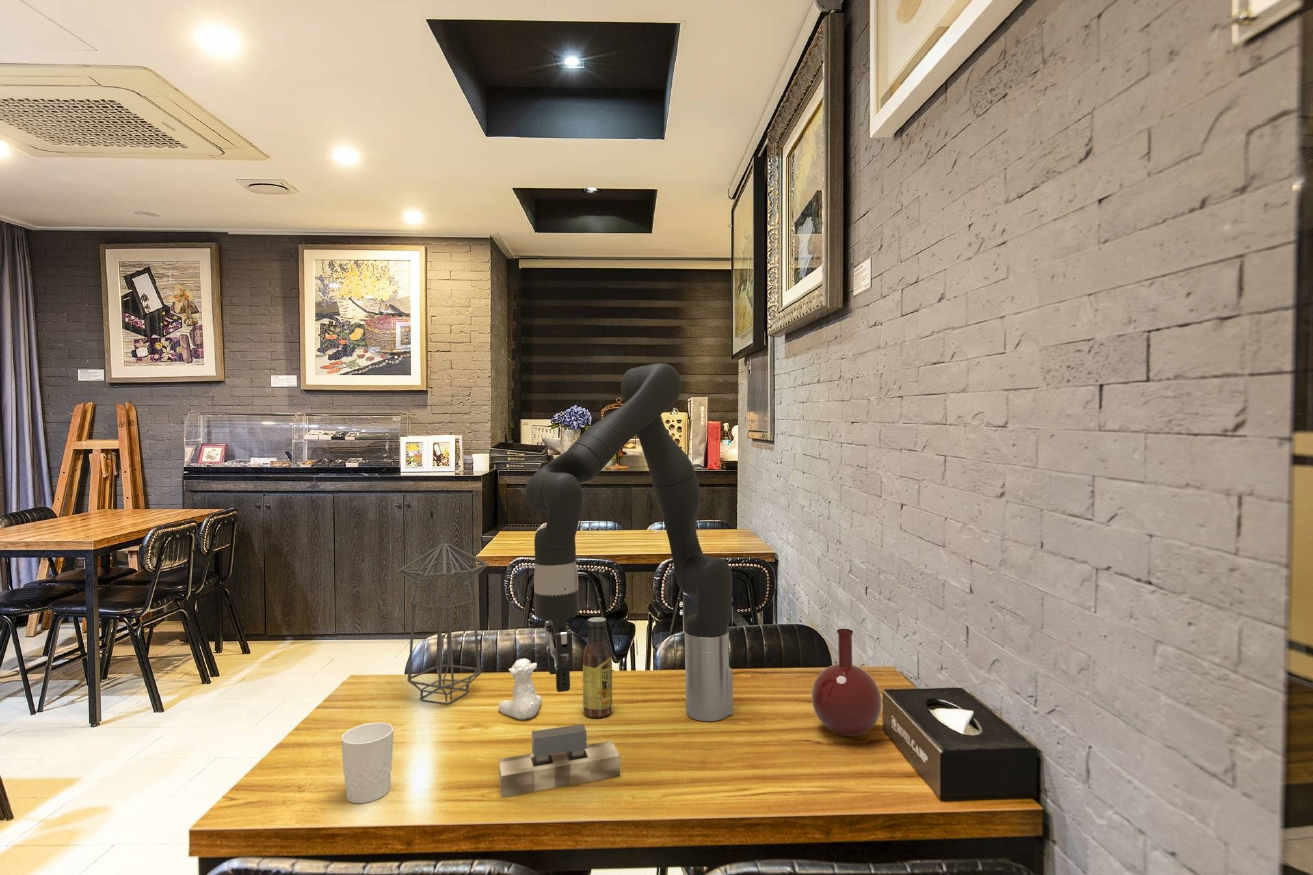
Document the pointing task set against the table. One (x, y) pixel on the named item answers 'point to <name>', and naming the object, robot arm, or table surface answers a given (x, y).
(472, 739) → the table surface
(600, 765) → the rail
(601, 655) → the sauce bottle
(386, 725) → the white cup
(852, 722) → the round-bottom flask
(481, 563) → the geometric lantern
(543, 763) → the grey notched block
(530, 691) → the seated beast figurine
